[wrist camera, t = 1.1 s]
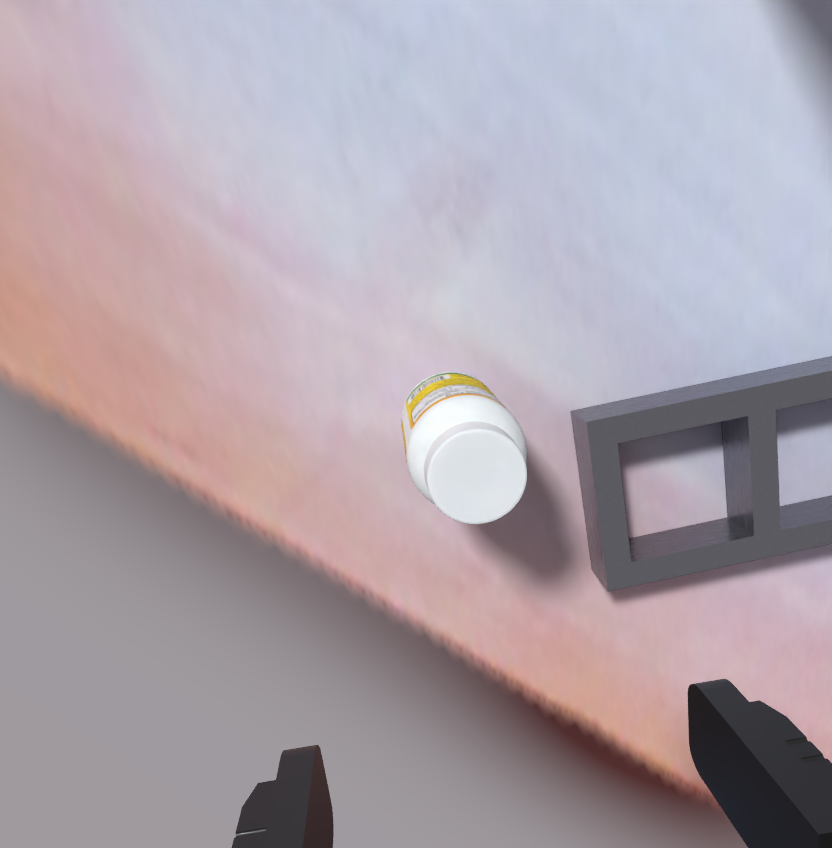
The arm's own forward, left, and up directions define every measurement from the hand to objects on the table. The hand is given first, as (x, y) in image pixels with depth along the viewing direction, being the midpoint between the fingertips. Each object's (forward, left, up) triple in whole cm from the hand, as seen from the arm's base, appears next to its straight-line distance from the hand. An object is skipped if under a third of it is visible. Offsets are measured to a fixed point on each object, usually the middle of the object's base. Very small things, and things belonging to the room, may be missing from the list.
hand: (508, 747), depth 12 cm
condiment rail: (+4, +18, -21) cm, 27 cm away
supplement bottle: (-2, +2, -21) cm, 21 cm away
